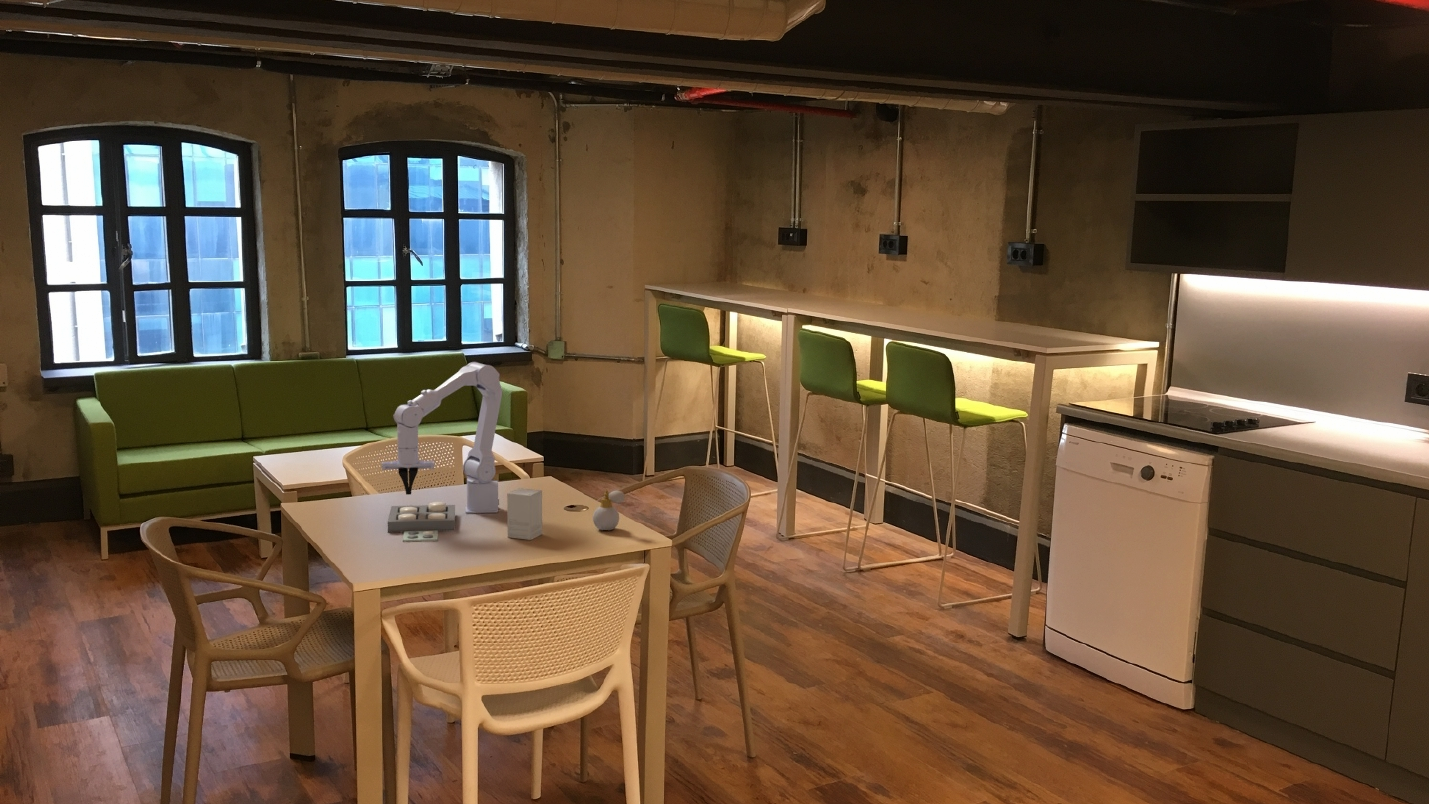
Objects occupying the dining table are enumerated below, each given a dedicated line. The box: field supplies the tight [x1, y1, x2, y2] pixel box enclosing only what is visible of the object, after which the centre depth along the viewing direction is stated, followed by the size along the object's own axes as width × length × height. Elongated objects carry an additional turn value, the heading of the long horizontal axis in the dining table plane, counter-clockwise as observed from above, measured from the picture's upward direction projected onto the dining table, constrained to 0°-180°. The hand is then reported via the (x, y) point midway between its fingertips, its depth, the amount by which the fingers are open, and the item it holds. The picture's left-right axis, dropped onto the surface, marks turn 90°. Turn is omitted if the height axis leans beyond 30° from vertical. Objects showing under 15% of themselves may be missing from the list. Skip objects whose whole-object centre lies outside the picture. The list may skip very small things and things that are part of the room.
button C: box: [400, 507, 417, 513], centre depth 337 cm, size 5×5×3 cm
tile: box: [402, 530, 439, 543], centre depth 320 cm, size 9×9×1 cm
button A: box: [398, 514, 416, 520], centre depth 329 cm, size 5×5×3 cm
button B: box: [428, 513, 445, 519], centre depth 331 cm, size 5×5×3 cm
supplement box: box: [506, 487, 543, 541], centre depth 323 cm, size 7×7×13 cm
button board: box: [387, 504, 456, 533], centre depth 334 cm, size 18×18×3 cm
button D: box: [428, 501, 447, 512], centre depth 338 cm, size 5×5×3 cm
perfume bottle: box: [592, 489, 626, 531], centre depth 332 cm, size 8×10×12 cm
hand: (408, 493), depth 336 cm, fingers closed
